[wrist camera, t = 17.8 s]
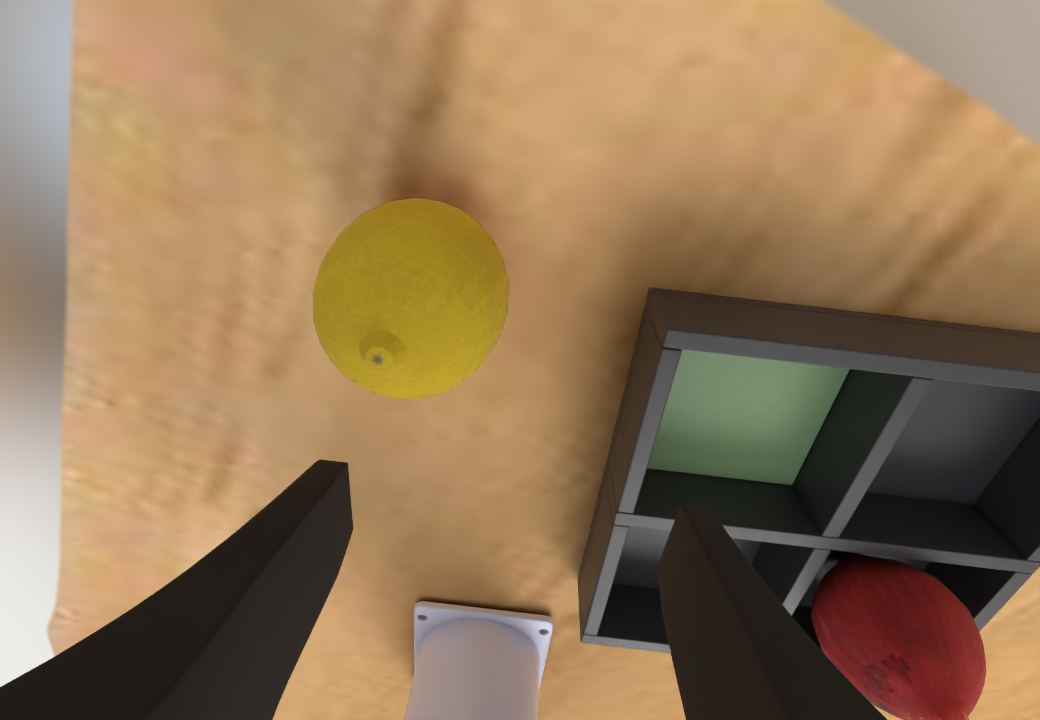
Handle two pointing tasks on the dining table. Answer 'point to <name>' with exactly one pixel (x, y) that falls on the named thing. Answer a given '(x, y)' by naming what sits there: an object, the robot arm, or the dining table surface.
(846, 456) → the divided tray
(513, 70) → the dining table surface
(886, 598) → the onion
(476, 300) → the lemon
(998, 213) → the dining table surface
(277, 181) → the dining table surface
